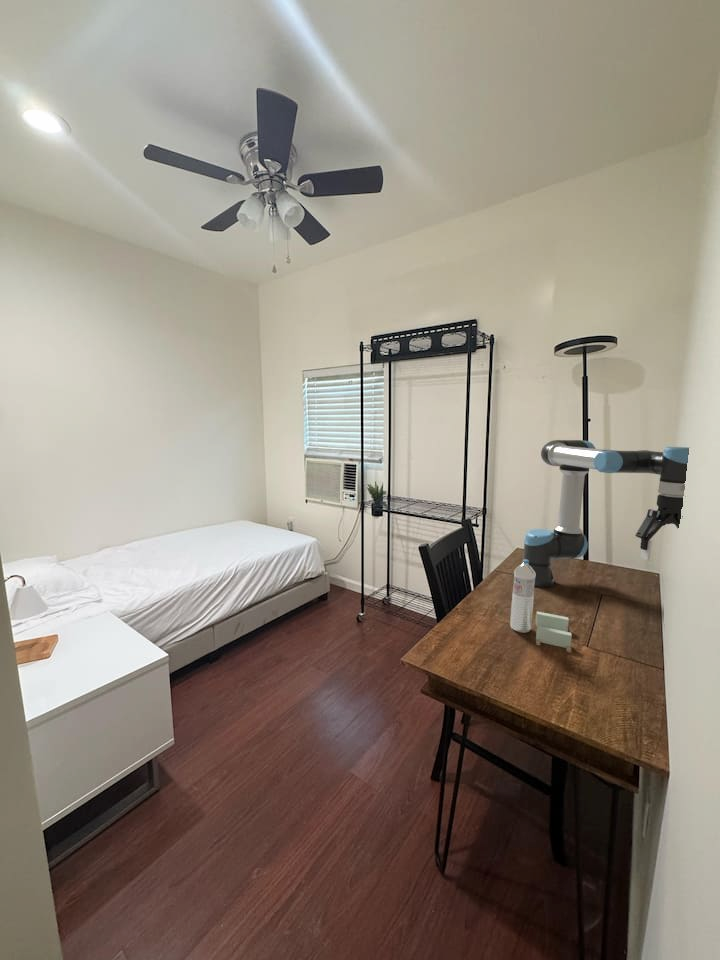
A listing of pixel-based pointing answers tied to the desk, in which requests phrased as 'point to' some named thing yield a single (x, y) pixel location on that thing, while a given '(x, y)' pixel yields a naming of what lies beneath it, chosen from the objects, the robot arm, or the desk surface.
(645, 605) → the desk surface
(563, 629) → the u rest
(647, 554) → the robot arm
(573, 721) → the desk surface
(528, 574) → the water bottle
